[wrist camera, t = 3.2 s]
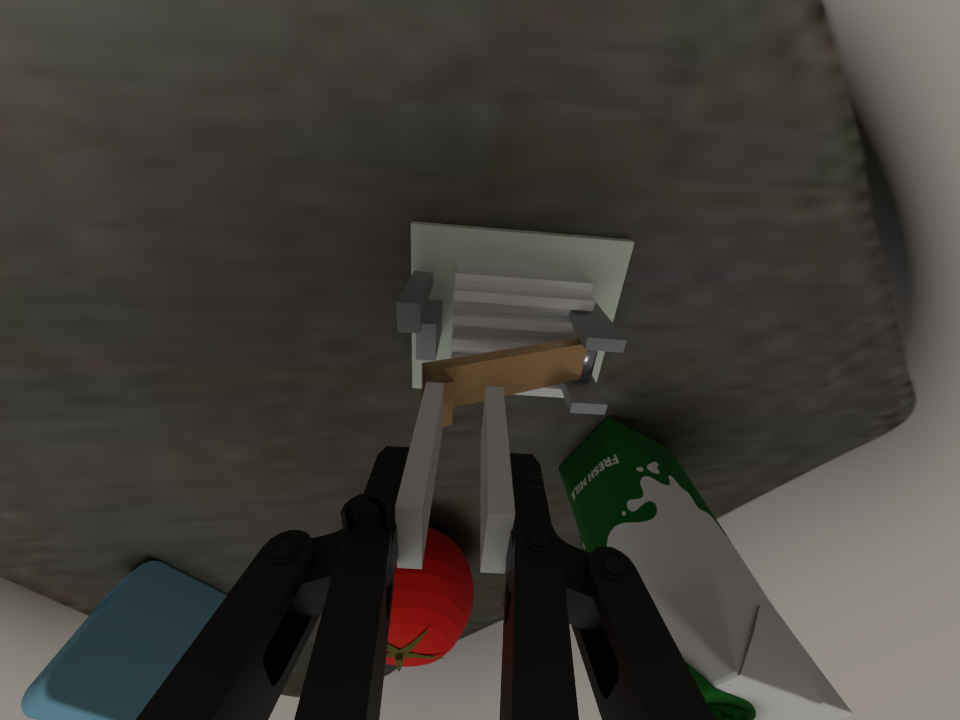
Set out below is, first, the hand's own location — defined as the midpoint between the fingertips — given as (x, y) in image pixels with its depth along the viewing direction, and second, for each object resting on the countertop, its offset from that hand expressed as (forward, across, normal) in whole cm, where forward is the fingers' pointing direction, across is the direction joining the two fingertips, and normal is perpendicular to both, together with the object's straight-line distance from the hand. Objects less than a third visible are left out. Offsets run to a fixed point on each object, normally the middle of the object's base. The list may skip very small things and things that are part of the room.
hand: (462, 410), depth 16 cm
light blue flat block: (+12, -30, -36) cm, 48 cm away
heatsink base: (+12, +3, 0) cm, 12 cm away
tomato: (+12, -4, -26) cm, 29 cm away
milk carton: (+12, +14, -13) cm, 22 cm away
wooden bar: (+4, +3, 0) cm, 5 cm away
